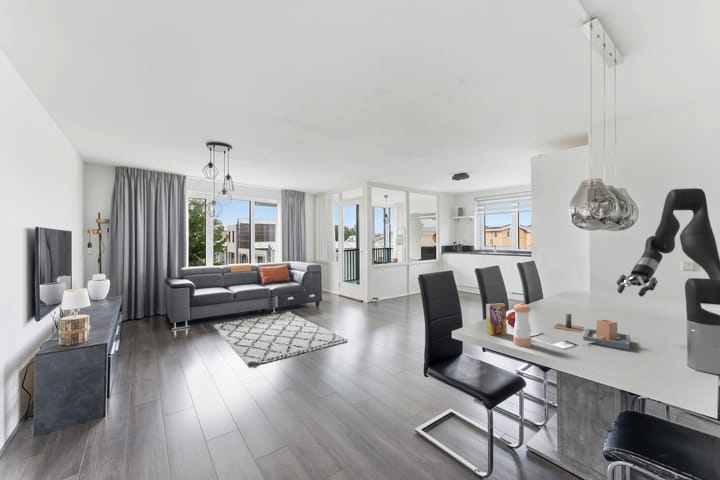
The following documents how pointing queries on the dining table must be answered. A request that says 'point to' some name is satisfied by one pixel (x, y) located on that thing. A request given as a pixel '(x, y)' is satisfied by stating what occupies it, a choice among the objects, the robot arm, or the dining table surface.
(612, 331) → the orange-brown box
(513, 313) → the dragon fruit
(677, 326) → the dining table surface
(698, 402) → the dining table surface
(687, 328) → the robot arm
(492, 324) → the candy box
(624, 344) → the tray
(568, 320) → the post stand
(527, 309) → the pepper shaker
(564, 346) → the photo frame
